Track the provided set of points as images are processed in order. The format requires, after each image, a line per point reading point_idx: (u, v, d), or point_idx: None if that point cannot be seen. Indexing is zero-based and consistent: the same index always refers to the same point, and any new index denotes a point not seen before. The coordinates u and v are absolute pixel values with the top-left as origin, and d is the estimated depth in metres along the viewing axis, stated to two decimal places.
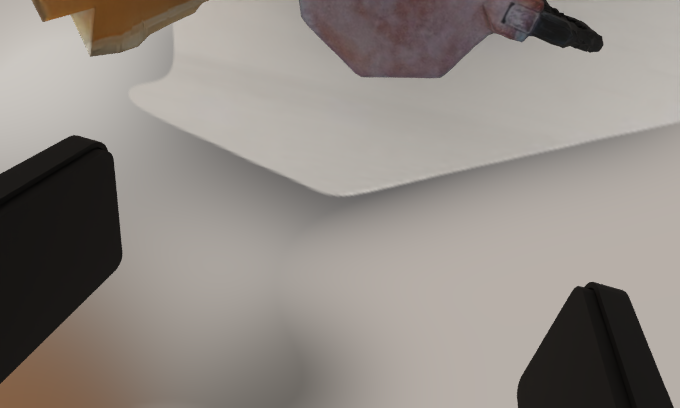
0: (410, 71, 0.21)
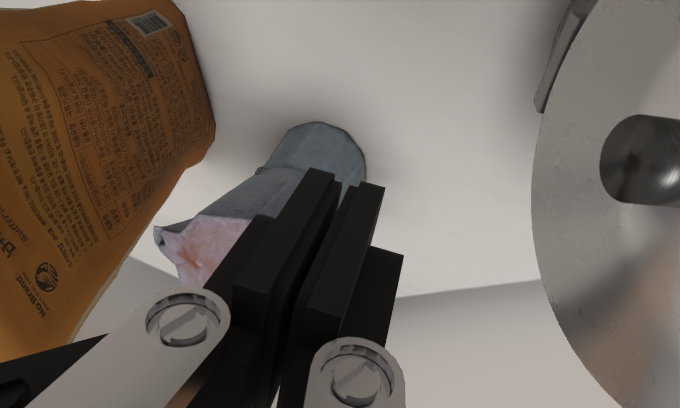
0: None
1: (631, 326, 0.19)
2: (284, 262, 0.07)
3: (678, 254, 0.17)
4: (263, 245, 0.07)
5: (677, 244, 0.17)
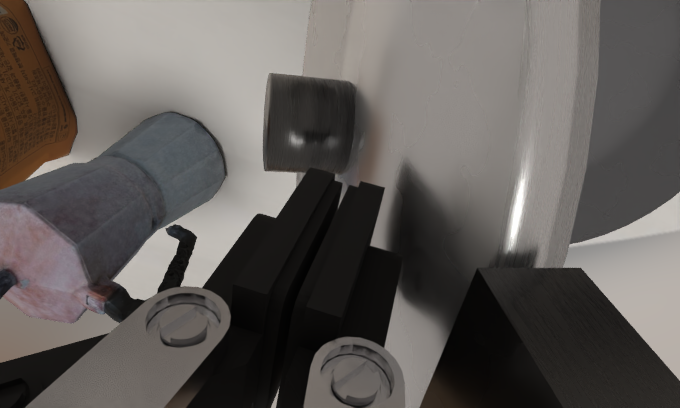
0: (53, 319, 0.31)
1: None
2: (284, 263, 0.07)
3: None
4: (263, 245, 0.07)
5: None
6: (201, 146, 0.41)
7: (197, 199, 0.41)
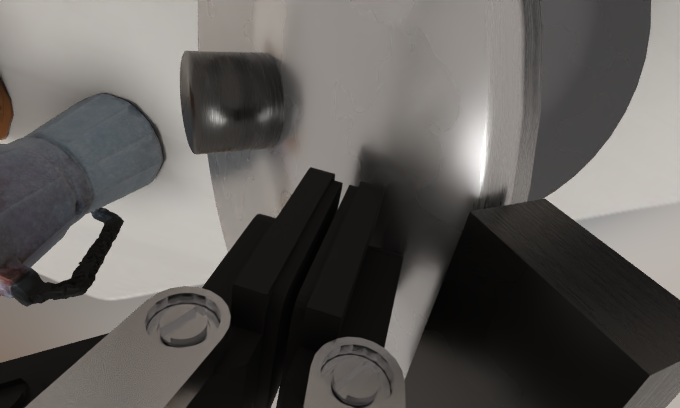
0: None
1: None
2: (284, 263, 0.07)
3: (276, 198, 0.16)
4: (263, 245, 0.07)
5: (274, 187, 0.16)
6: (134, 128, 0.40)
7: (131, 182, 0.40)
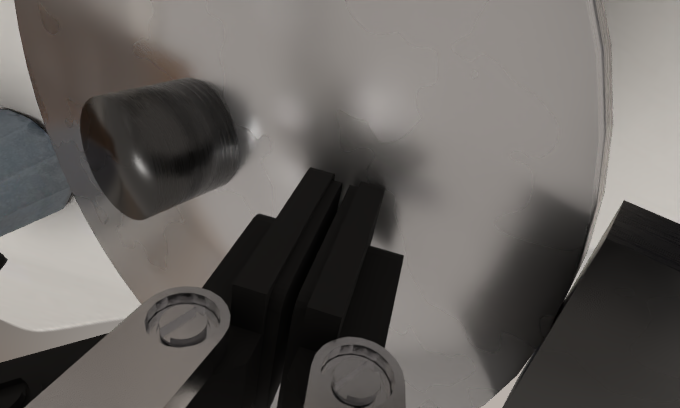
0: None
1: None
2: (284, 263, 0.07)
3: (235, 240, 0.14)
4: (263, 245, 0.07)
5: (229, 229, 0.14)
6: (34, 149, 0.35)
7: (31, 210, 0.35)
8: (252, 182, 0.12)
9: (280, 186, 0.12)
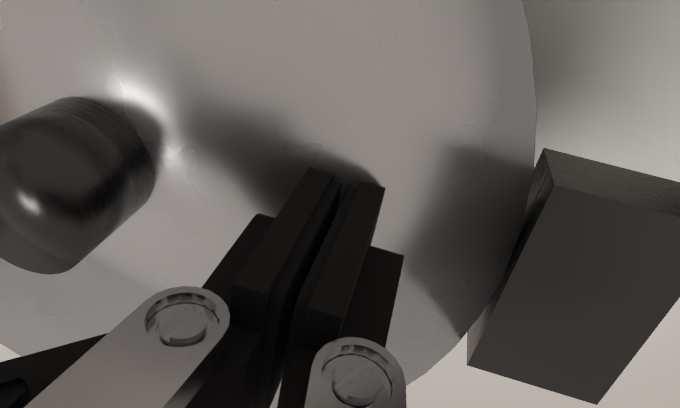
0: None
1: None
2: (283, 263, 0.07)
3: (160, 265, 0.13)
4: (262, 245, 0.07)
5: (151, 255, 0.12)
6: None
7: None
8: (176, 199, 0.11)
9: (213, 197, 0.11)
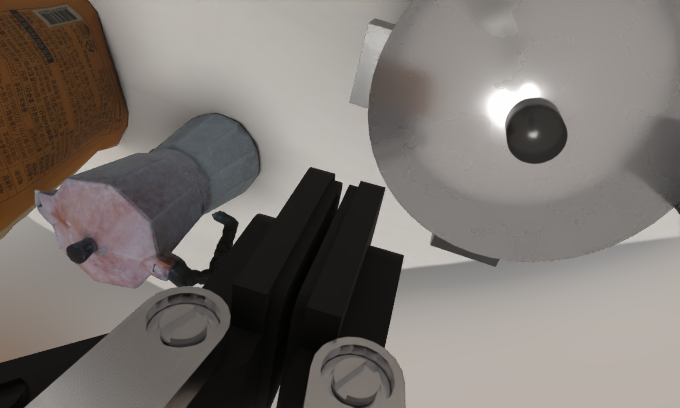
0: (119, 284, 0.37)
1: (518, 220, 0.31)
2: (284, 263, 0.07)
3: (539, 172, 0.29)
4: (263, 245, 0.07)
5: (536, 167, 0.29)
6: (242, 145, 0.46)
7: (235, 190, 0.47)
8: None
9: (583, 140, 0.27)
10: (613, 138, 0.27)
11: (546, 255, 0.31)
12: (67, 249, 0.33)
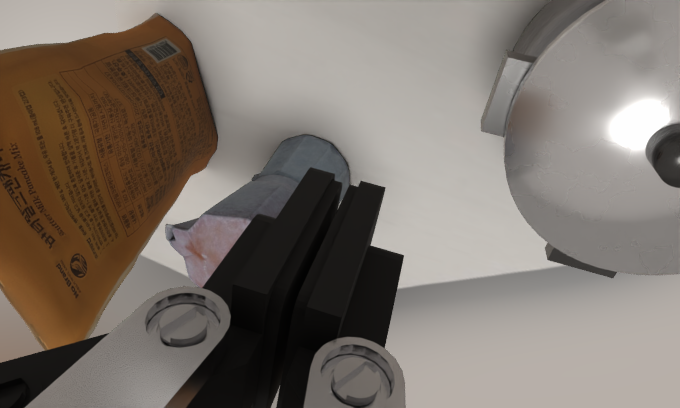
0: None
1: (650, 236, 0.32)
2: (284, 263, 0.07)
3: (676, 192, 0.30)
4: (263, 245, 0.07)
5: (674, 187, 0.30)
6: (336, 165, 0.48)
7: None
8: None
9: None
10: None
11: (676, 268, 0.33)
12: None
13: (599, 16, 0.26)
